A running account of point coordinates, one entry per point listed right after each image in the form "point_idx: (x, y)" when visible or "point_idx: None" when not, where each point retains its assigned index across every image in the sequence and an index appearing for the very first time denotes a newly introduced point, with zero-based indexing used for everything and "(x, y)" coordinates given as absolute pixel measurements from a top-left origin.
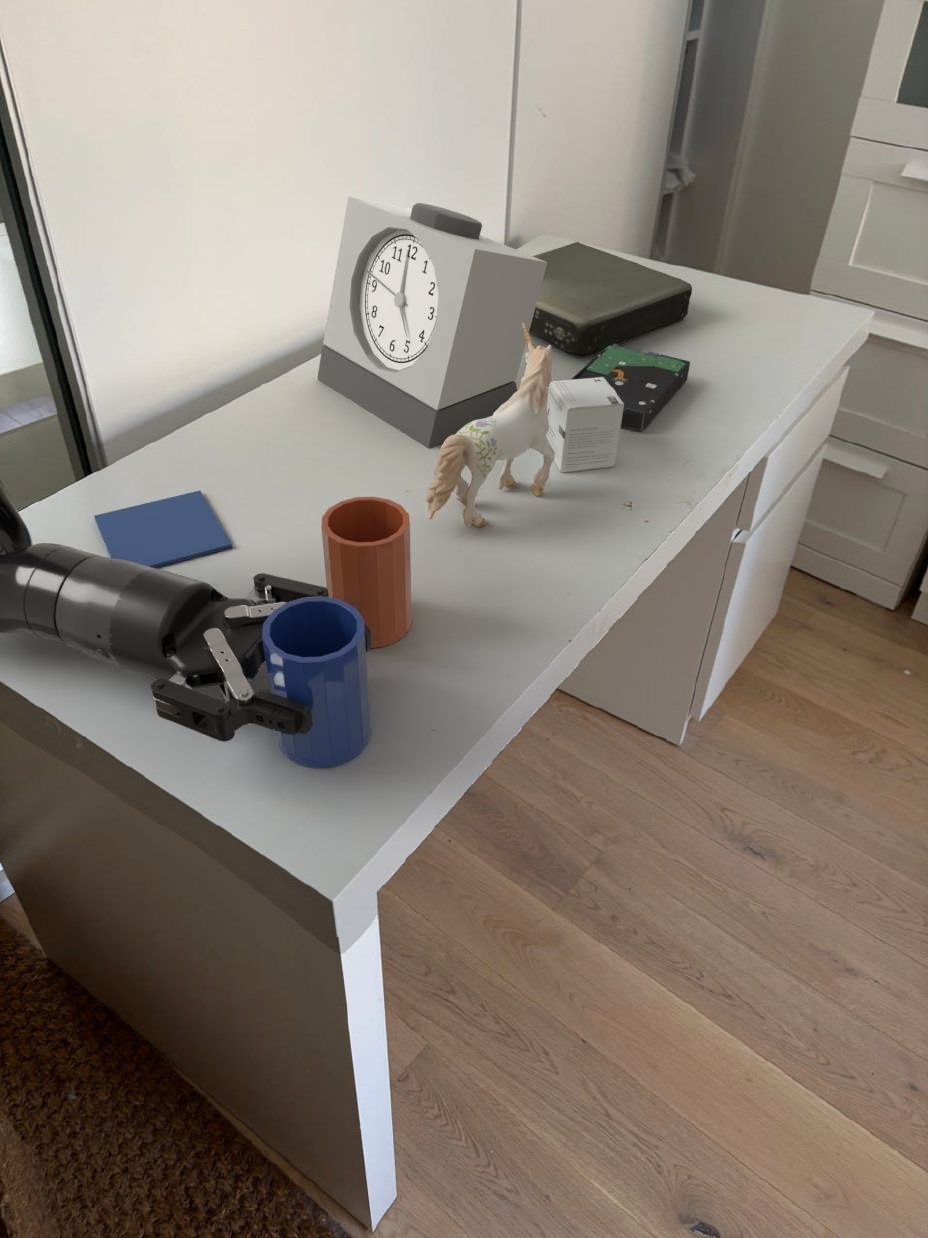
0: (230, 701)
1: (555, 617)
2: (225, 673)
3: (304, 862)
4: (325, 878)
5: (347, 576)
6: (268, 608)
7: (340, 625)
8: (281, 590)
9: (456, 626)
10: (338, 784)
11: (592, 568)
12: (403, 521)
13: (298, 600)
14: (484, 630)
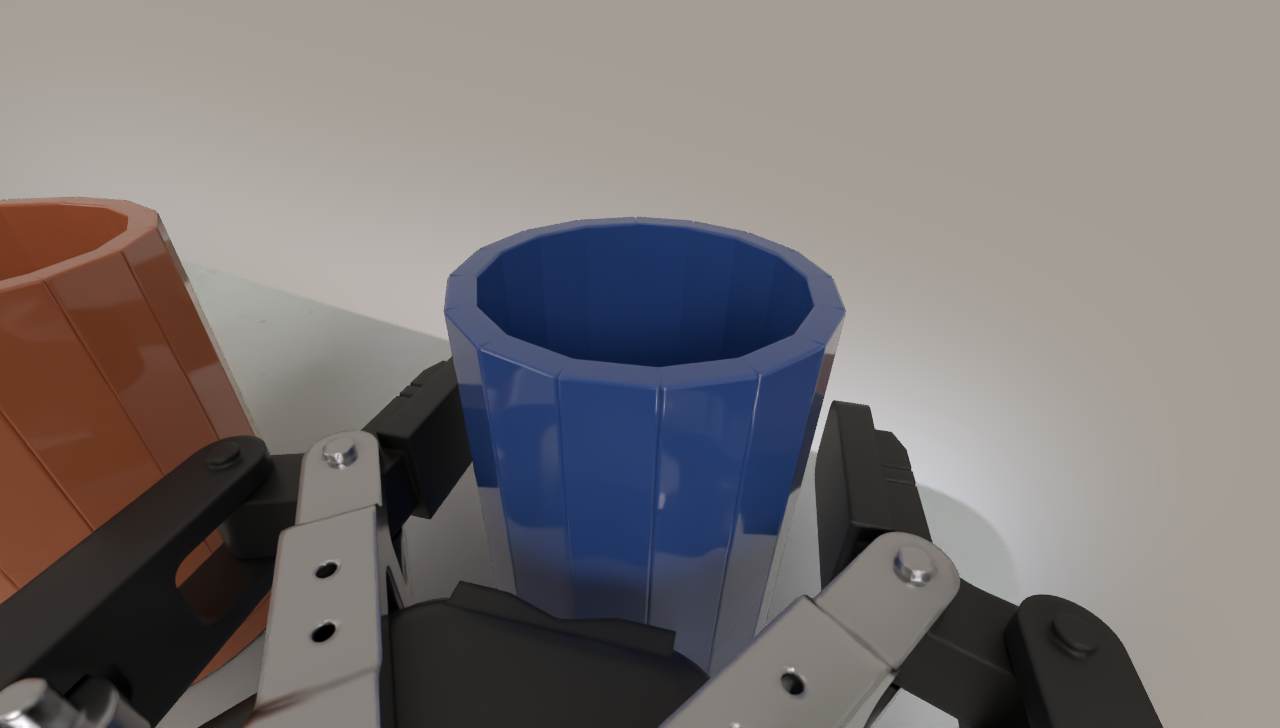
0: (960, 641)
1: (320, 330)
2: (885, 661)
3: (993, 570)
4: (994, 528)
5: (151, 414)
6: (311, 592)
7: (514, 335)
8: (94, 624)
9: (285, 432)
10: None
11: (209, 304)
12: (48, 202)
13: (466, 321)
14: (318, 396)
